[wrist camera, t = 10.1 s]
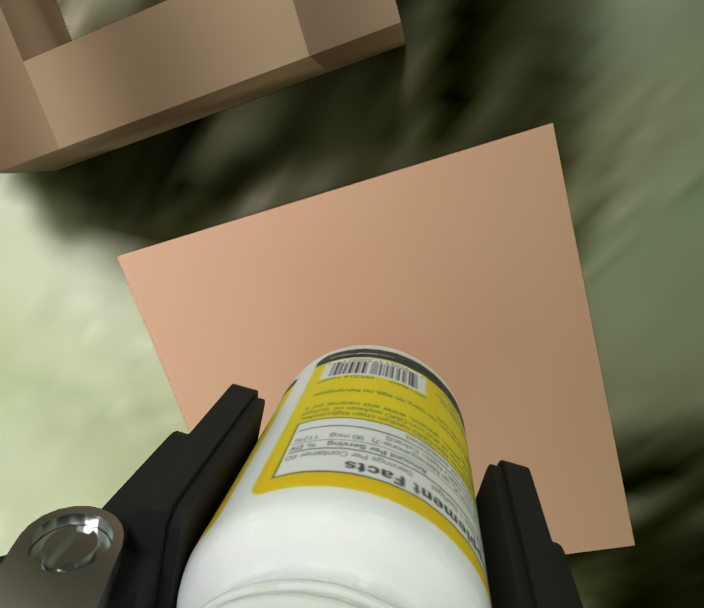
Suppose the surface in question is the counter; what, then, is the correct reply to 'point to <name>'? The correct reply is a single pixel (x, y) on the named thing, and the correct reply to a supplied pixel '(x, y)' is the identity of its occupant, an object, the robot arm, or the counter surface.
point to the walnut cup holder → (164, 68)
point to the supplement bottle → (349, 498)
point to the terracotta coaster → (412, 313)
